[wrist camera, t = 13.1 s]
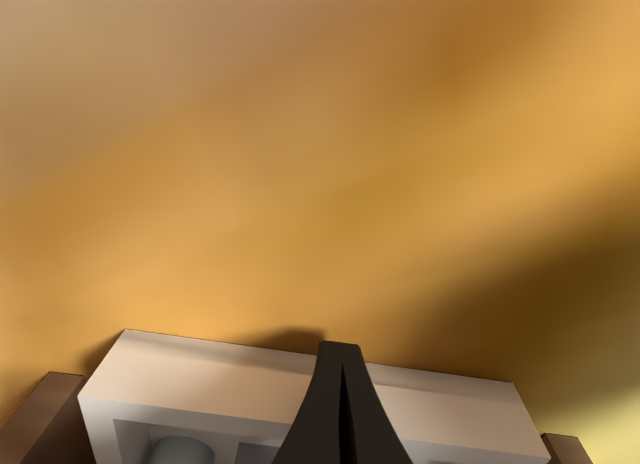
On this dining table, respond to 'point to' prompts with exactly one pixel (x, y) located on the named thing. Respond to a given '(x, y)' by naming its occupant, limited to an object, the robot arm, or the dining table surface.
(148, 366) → the white tray
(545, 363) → the dining table surface
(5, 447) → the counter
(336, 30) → the dining table surface
